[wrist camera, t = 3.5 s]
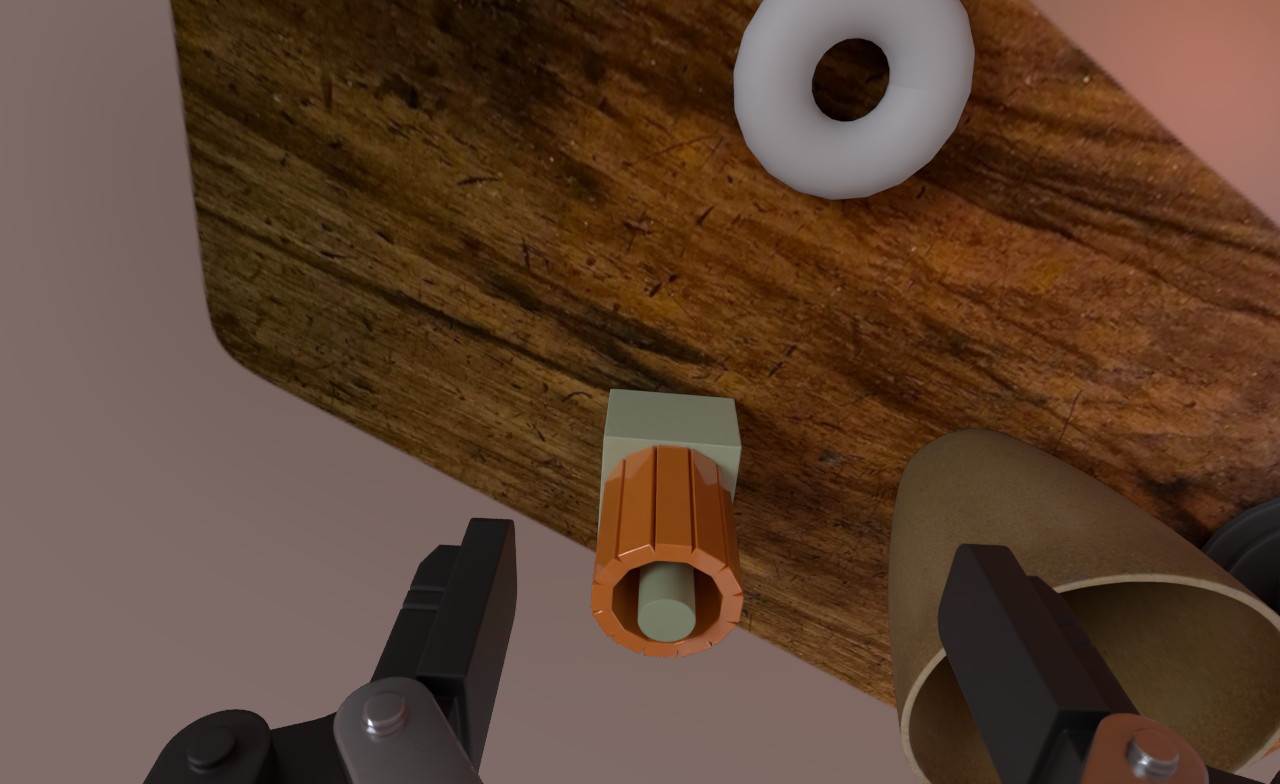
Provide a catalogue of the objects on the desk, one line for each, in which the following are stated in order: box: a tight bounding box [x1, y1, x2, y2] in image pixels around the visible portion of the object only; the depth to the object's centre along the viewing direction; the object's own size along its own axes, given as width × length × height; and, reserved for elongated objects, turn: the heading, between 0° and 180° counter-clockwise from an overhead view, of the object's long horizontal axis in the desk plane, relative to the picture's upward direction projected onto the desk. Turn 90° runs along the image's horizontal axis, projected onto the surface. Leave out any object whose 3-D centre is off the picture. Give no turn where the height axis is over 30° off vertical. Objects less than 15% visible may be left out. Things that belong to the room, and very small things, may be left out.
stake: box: [597, 389, 742, 642], centre depth 37 cm, size 7×7×14 cm
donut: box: [734, 0, 975, 200], centre depth 32 cm, size 10×4×10 cm
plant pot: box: [888, 429, 1280, 784], centre depth 37 cm, size 15×15×16 cm
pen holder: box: [591, 445, 744, 658], centre depth 36 cm, size 6×6×8 cm
